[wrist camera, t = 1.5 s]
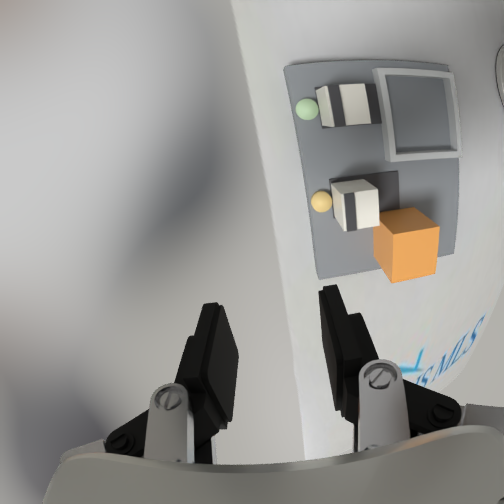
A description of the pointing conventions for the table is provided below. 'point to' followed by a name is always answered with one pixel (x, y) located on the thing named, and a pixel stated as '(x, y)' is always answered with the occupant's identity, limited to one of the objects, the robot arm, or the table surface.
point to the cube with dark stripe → (355, 204)
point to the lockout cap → (406, 244)
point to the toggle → (343, 105)
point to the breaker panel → (378, 152)
